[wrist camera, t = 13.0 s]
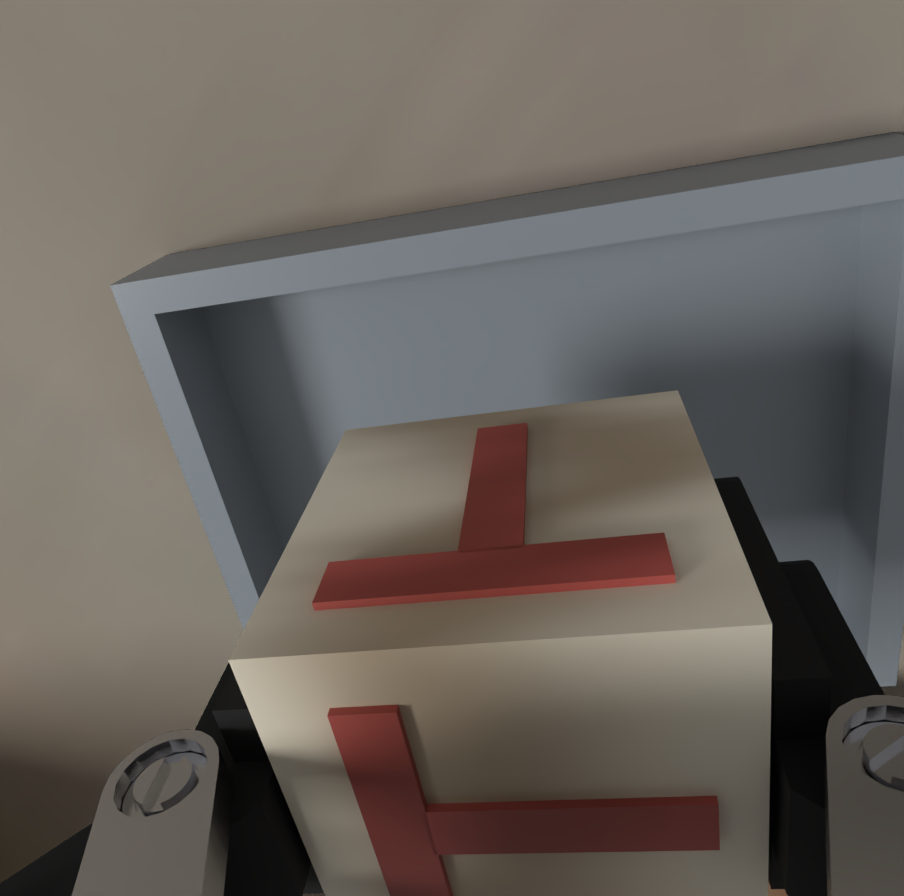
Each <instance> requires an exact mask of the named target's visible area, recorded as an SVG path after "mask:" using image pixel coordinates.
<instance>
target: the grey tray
mask: <svg viewBox="0 0 904 896" xmlns="http://www.w3.org/2000/svg"><path fill="white" fill-rule="evenodd" d="M110 287H111V289H112V292H113V294H114V297H115V300H116V302H117V305H118V307H119V310H120V312H121V315H122V318H123V320H124V323H125V325H126V328H127V331H128V333H129V336H130V338H131V341H132V343H133V346H134V349H135V351H136V354H137V356H138V359H139V361H140V364H141V367H142V369H143V372H144V374H145V377H146V379H147V382H148V385H149V387H150V390H151V392H152V395H153V398H154V400H155V403H156V405H157V408H158V410H159V413H160V416H161V418H162V421H163V423H164V426H165V428H166V431H167V434H168V436H169V439H170V441H171V444H172V446H173V449H174V452H175V454H176V457H177V459H178V462H179V465H180V467H181V470H182V472H183V475H184V477H185V480H186V483H187V485H188V488H189V490H190V493H191V495H192V498H193V501H194V503H195V506H196V508H197V511H198V514H199V516H200V519H201V521H202V524H203V526H204V529H205V532H206V534H207V537H208V539H209V542H210V544H211V547H212V550H213V552H214V555H215V557H216V560H217V562H218V565H219V568H220V570H221V573H222V575H223V578H224V581H225V583H226V586H227V588H228V591H229V593H230V596H231V599H232V601H233V604H234V606H235V609H236V611H237V614H238V617H239V619H240V622H241V624H242V627H243V629H244V628H245V626H246V624H247V622H248V620H249V618H250V616H251V614H252V612H253V610H254V608H255V606H256V605H257V603H258V601H259V599H260V597H261V595H262V593H263V591H264V589H265V587H266V585H267V583H268V581H269V579H270V577H271V575H272V573H273V571H274V569H275V567H276V565H277V563H278V561H279V559H280V558H281V556H282V554H283V552H284V550H285V548H286V546H287V544H288V542H289V540H290V538H291V536H292V534H293V532H294V530H295V528H296V526H297V524H298V522H299V520H300V518H301V516H302V514H303V512H304V511H305V509H306V507H307V505H308V503H309V501H310V499H311V497H312V495H313V493H314V491H315V489H316V487H317V485H318V483H319V481H320V479H321V477H322V475H323V473H324V471H325V469H326V467H327V466H328V464H329V462H330V460H331V458H332V456H333V454H334V452H335V450H336V448H337V446H338V444H339V442H340V440H341V438H342V436H343V434H344V432H345V430H350V429H358V428H366V427H375V426H383V425H391V424H400V423H408V422H417V421H425V420H433V419H442V418H450V417H458V416H467V415H475V414H483V413H492V412H500V411H509V410H517V409H525V408H534V407H542V406H550V405H559V404H567V403H575V402H584V401H592V400H601V399H609V398H617V397H626V396H634V395H642V394H651V393H659V392H667V391H676V390H678V392H679V395H680V397H681V400H682V402H683V404H684V407H685V409H686V412H687V414H688V417H689V419H690V422H691V424H692V427H693V429H694V432H695V434H696V437H697V439H698V442H699V444H700V447H701V449H702V451H703V454H704V456H705V459H706V461H707V464H708V466H709V469H710V471H711V474H712V476H713V479H716V478H726V477H736V476H737V477H739V478H740V480H741V482H742V484H743V486H744V488H745V490H746V492H747V495H748V497H749V499H750V501H751V503H752V505H753V508H754V510H755V512H756V514H757V516H758V518H759V520H760V523H761V525H762V527H763V529H764V531H765V533H766V536H767V538H768V540H769V542H770V544H771V546H772V549H773V551H774V553H775V555H776V557H777V559H778V562H786V561H799V560H810V561H812V562H813V563H814V564H815V566H816V567H817V569H818V570H819V572H820V574H821V576H822V578H823V580H824V582H825V584H826V585H827V587H828V589H829V591H830V593H831V595H832V597H833V599H834V601H835V602H836V604H837V606H838V608H839V610H840V612H841V614H842V616H843V617H844V619H845V621H846V623H847V625H848V627H849V629H850V631H851V632H852V634H853V636H854V638H855V640H856V642H857V644H858V646H859V648H860V649H861V651H862V653H863V655H864V657H865V659H866V661H867V663H868V664H869V666H870V668H871V670H872V672H873V674H874V676H875V678H876V680H877V681H878V683H879V685H880V687H884V686H896V684H897V675H898V666H899V658H900V649H901V640H902V631H903V623H904V135H903V134H899V133H894V132H892V133H886V134H880V135H874V136H868V137H862V138H856V139H850V140H845V141H839V142H833V143H827V144H821V145H815V146H809V147H803V148H797V149H791V150H785V151H779V152H773V153H767V154H762V155H756V156H750V157H744V158H738V159H732V160H726V161H720V162H714V163H708V164H702V165H696V166H690V167H684V168H679V169H673V170H667V171H661V172H655V173H649V174H643V175H637V176H631V177H625V178H619V179H613V180H607V181H601V182H596V183H590V184H584V185H578V186H572V187H566V188H560V189H554V190H548V191H542V192H536V193H530V194H524V195H518V196H513V197H507V198H501V199H495V200H489V201H483V202H477V203H471V204H465V205H459V206H453V207H447V208H441V209H435V210H430V211H424V212H418V213H412V214H406V215H400V216H394V217H388V218H382V219H376V220H370V221H364V222H358V223H352V224H347V225H341V226H335V227H329V228H323V229H317V230H311V231H305V232H299V233H293V234H287V235H281V236H275V237H269V238H264V239H258V240H252V241H246V242H240V243H234V244H228V245H222V246H216V247H210V248H204V249H198V250H192V251H186V252H181V253H175V254H169V255H165V256H164V257H162V258H160V259H158V260H156V261H154V262H153V263H151V264H149V265H147V266H145V267H143V268H141V269H140V270H138V271H136V272H134V273H132V274H130V275H128V276H127V277H125V278H123V279H121V280H119V281H117V282H116V283H114V284H112V285H110Z"/></svg>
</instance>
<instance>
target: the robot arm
mask: <svg viewBox="0 0 904 896" xmlns="http://www.w3.org/2000/svg"><path fill="white" fill-rule="evenodd" d="M714 481H715V484H716V486H717V489H718V491H719V494H720V496H721V498H722V501H723V503H724V506H725V508H726V511H727V513H728V516H729V518H730V521H731V523H732V526H733V528H734V531H735V533H736V536H737V538H738V541H739V543H740V545H741V548H742V550H743V553H744V555H745V558H746V560H747V563H748V565H749V568H750V570H751V573H752V575H753V578H754V580H755V583H756V585H757V588H758V590H759V592H760V595H761V597H762V600H763V602H764V605H765V607H766V610H767V612H768V615H769V617H770V620H771V622H772V675H771V738H770V800H769V862H768V880H769V884H770V887H771V889H785V891H786V894H787V895H788V896H904V697H900V696H891V695H884V693H883V691H882V689H881V687H880V685H879V683H878V681H877V680H876V678H875V676H874V674H873V672H872V670H871V668H870V666H869V664H868V663H867V661H866V659H865V657H864V655H863V653H862V651H861V649H860V648H859V646H858V644H857V642H856V640H855V638H854V636H853V634H852V632H851V631H850V629H849V627H848V625H847V623H846V621H845V619H844V617H843V616H842V614H841V612H840V610H839V608H838V606H837V604H836V602H835V601H834V599H833V597H832V595H831V593H830V591H829V589H828V587H827V585H826V584H825V582H824V580H823V578H822V576H821V574H820V572H819V570H818V569H817V567H816V566H815V564H814V563H813V562H812V561H810V560H799V561H786V562H778V559H777V557H776V555H775V553H774V551H773V549H772V546H771V544H770V542H769V540H768V538H767V536H766V533H765V531H764V529H763V527H762V525H761V523H760V520H759V518H758V516H757V514H756V512H755V510H754V508H753V505H752V503H751V501H750V499H749V497H748V495H747V492H746V490H745V488H744V486H743V484H742V482H741V480H740V478H739V477H737V476H736V477H726V478H716V479H714ZM303 893H324V892H323V889H322V887H321V884H320V882H319V880H318V877H317V875H316V872H315V870H314V867H313V865H312V863H311V860H310V858H309V855H308V853H307V850H306V848H305V846H304V843H303V841H302V838H301V836H300V833H299V831H298V829H297V826H296V824H295V821H294V819H293V816H292V814H291V812H290V809H289V807H288V804H287V802H286V799H285V797H284V795H283V792H282V790H281V787H280V785H279V782H278V780H277V778H276V775H275V773H274V770H273V768H272V765H271V763H270V761H269V758H268V756H267V753H266V751H265V748H264V746H263V744H262V741H261V739H260V736H259V734H258V731H257V729H256V727H255V724H254V722H253V719H252V717H251V714H250V712H249V710H248V707H247V705H246V702H245V700H244V697H243V695H242V693H241V690H240V688H239V685H238V683H237V680H236V678H235V676H234V673H233V671H232V668H231V666H230V663H228V665H227V667H226V669H225V671H224V673H223V675H222V677H221V679H220V681H219V683H218V685H217V687H216V689H215V691H214V693H213V695H212V697H211V699H210V701H209V703H208V705H207V707H206V709H205V711H204V713H203V715H202V717H201V719H200V721H199V723H198V725H197V727H196V729H195V730H189V729H185V730H178V731H172V732H168V733H166V734H163V735H160V736H158V737H155V738H153V739H151V740H149V741H148V742H146V743H144V744H143V745H141V746H139V747H138V748H136V749H135V750H134V751H132V752H131V753H130V754H129V755H128V756H127V757H126V758H124V759H123V760H122V761H121V762H120V763H119V765H118V766H117V767H116V768H115V770H114V771H113V772H112V774H111V775H110V776H109V778H108V780H107V782H106V785H105V787H104V789H103V791H102V794H101V797H100V801H99V804H98V808H97V811H96V814H95V818H94V821H93V823H92V824H90V825H89V826H87V827H86V828H84V829H83V830H81V831H80V832H78V833H77V834H75V835H74V836H72V837H71V838H69V839H68V840H66V841H65V842H63V843H61V844H60V845H58V846H57V847H55V848H54V849H52V850H51V851H49V852H48V853H46V854H45V855H43V856H42V857H40V858H39V859H37V860H36V861H34V862H33V863H31V864H30V865H28V866H26V867H25V868H23V869H22V870H20V871H19V872H17V873H16V874H14V875H13V876H11V877H10V878H8V879H7V880H5V881H4V882H2V883H1V884H0V896H302V895H303Z"/></svg>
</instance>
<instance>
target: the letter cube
mask: <svg viewBox="0 0 904 896" xmlns="http://www.w3.org/2000/svg"><path fill="white" fill-rule="evenodd" d="M228 661H229V663H230V666H231V668H232V671H233V673H234V676H235V678H236V680H237V683H238V685H239V688H240V690H241V693H242V695H243V697H244V700H245V702H246V705H247V707H248V710H249V712H250V714H251V717H252V719H253V722H254V724H255V727H256V729H257V731H258V734H259V736H260V739H261V741H262V744H263V746H264V748H265V751H266V753H267V756H268V758H269V761H270V763H271V765H272V768H273V770H274V773H275V775H276V778H277V780H278V782H279V785H280V787H281V790H282V792H283V795H284V797H285V799H286V802H287V804H288V807H289V809H290V812H291V814H292V816H293V819H294V821H295V824H296V826H297V829H298V831H299V833H300V836H301V838H302V841H303V843H304V846H305V848H306V850H307V853H308V855H309V858H310V860H311V863H312V865H313V867H314V870H315V872H316V875H317V877H318V880H319V882H320V884H321V887H322V889H323V892H324V894H325V896H768V862H769V800H770V738H771V675H772V622H771V620H770V617H769V615H768V612H767V610H766V607H765V605H764V602H763V600H762V597H761V595H760V592H759V590H758V588H757V585H756V583H755V580H754V578H753V575H752V573H751V570H750V568H749V565H748V563H747V560H746V558H745V555H744V553H743V550H742V548H741V545H740V543H739V541H738V538H737V536H736V533H735V531H734V528H733V526H732V523H731V521H730V518H729V516H728V513H727V511H726V508H725V506H724V503H723V501H722V498H721V496H720V494H719V491H718V489H717V486H716V484H715V481H714V479H713V476H712V474H711V471H710V469H709V466H708V464H707V461H706V459H705V456H704V454H703V451H702V449H701V447H700V444H699V442H698V439H697V437H696V434H695V432H694V429H693V427H692V424H691V422H690V419H689V417H688V414H687V412H686V409H685V407H684V404H683V402H682V400H681V397H680V395H679V392H678V390H676V391H667V392H659V393H651V394H642V395H634V396H626V397H617V398H609V399H601V400H592V401H584V402H575V403H567V404H559V405H550V406H542V407H534V408H525V409H517V410H509V411H500V412H492V413H483V414H475V415H467V416H458V417H450V418H442V419H433V420H425V421H417V422H408V423H400V424H391V425H383V426H375V427H366V428H358V429H350V430H345V432H344V434H343V436H342V438H341V440H340V442H339V444H338V446H337V448H336V450H335V452H334V454H333V456H332V458H331V460H330V462H329V464H328V466H327V467H326V469H325V471H324V473H323V475H322V477H321V479H320V481H319V483H318V485H317V487H316V489H315V491H314V493H313V495H312V497H311V499H310V501H309V503H308V505H307V507H306V509H305V511H304V512H303V514H302V516H301V518H300V520H299V522H298V524H297V526H296V528H295V530H294V532H293V534H292V536H291V538H290V540H289V542H288V544H287V546H286V548H285V550H284V552H283V554H282V556H281V558H280V559H279V561H278V563H277V565H276V567H275V569H274V571H273V573H272V575H271V577H270V579H269V581H268V583H267V585H266V587H265V589H264V591H263V593H262V595H261V597H260V599H259V601H258V603H257V605H256V606H255V608H254V610H253V612H252V614H251V616H250V618H249V620H248V622H247V624H246V626H245V628H244V630H243V632H242V634H241V636H240V638H239V640H238V642H237V644H236V646H235V648H234V650H233V652H232V653H231V655H230V657H229V659H228Z"/></svg>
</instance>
